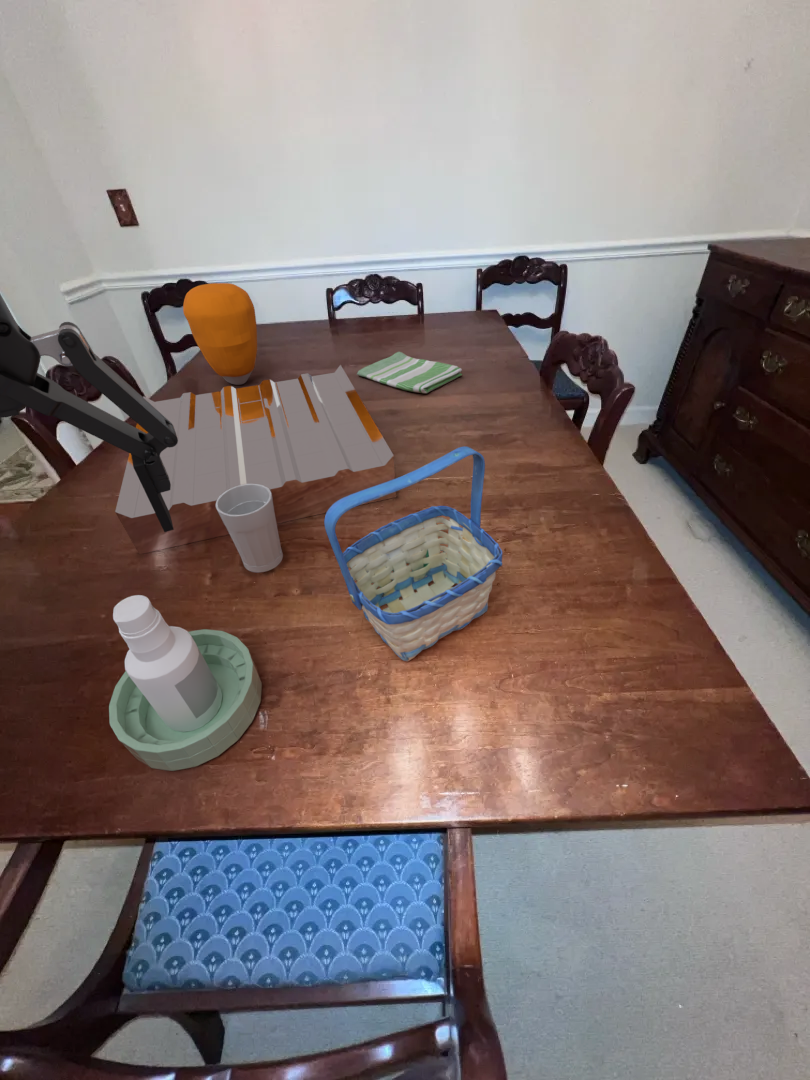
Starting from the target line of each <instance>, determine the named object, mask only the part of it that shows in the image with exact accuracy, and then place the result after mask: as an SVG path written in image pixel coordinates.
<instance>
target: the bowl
mask: <svg viewBox="0 0 810 1080" xmlns="http://www.w3.org/2000/svg"><path fill="white" fill-rule="evenodd" d="M188 632H189V634H190V635H191V636H192V638H193V640H194V641H195V643H196V645H197V647H198V649H199V651H200V652H201V654H202V656H203V658H204V660H205V661H206V663H207V665H208V667H209V669H210V671H211V672H212V674H213V676H214V678H215V680H216V681H217V683H218V685H219V687H220V689H221V692H222V701H221V706H220V708H219V710H218V712H217V714H216V715H215V716H214V717H213V718H212V719H211V720H210V721H209V722H208V723H207V724H205V725H204V726H202V727H200V728H198V729H196V730H193V731H187V732H180V731H174V730H172V729H171V728H169V727H167V725H166V724H165V723H164V721H163V720H162V719H161V717H160V716H159V715H158V713H157V712H156V711H155V709H154V708H153V707H152V706H151V704H150V703H149V702H148V700H147V699H146V698H145V696H144V695H143V694H142V692H141V691H140V690H139V688H138V687H137V686H136V685H135V683H134V682H133V681H132V679H131V678H130V677H129V675H128V673H127V672H126V670H125V671H124V673H123V674H122V675H121V677H120V678H119V680H118V682H117V683H116V684H115V686H114V689H113V692H112V694H111V698H110V701H109V704H108V716H109V726H110V728H111V729H112V731H113V733H114V734H115V737H116V738H117V740H118V741H119V742H120V743H121V744H122V745H123V746H124V747H125V748H126V749H127V751H128V752H129V753H130V754H131V755H132V756H133V757H134V758H135V759H136V760H138V761H139V762H140V763H142V764H144V765H146V766H147V767H149V768H151V769H155V770H163V771H170V772H175V771H181V770H185V769H190V768H195V767H198V766H201V765H202V764H205V763H207V762H209V761H211V760H213V759H216V758H218V757H219V756H221V754H223V753H224V752H225V751H227V750H228V749H229V748H230V747H231V746H232V745H234V744H235V743H236V742H238V741H239V740H240V738H241V737H242V736H243V734H244V733H245V732H246V731H247V730H248V728H249V726H250V725H251V724H252V723H253V721H254V719H255V717H256V714H257V711H258V709H259V707H260V704H261V701H262V688H263V684H262V680H261V677H260V674H259V671H258V668H257V666H256V663H255V661H254V659H253V657H252V654H251V652H250V650H249V648H248V647H247V645H245V643H243V641H241V640H240V638H239V637H237V636H235V635H233V634H231V633H228V632H226V631H224V630H217V629H209V628H208V629H207V628H202V629H196V630H190V631H188Z"/></svg>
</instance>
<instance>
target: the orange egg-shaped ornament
mask: <svg viewBox="0 0 810 1080" xmlns="http://www.w3.org/2000/svg"><path fill="white" fill-rule="evenodd" d="M182 311H183V316H184V317H185V319H186V321H187V323H188V326H189V330H190V332H191V334H192V337H193V339H194V341H195V344H196V345H197V347H198V349H199V351H200V352H201V353H202V356H203V358H204V359H205V361H206V363H207V364H208V365H209V366H210V368H211V369H212V370H213V371H214V372H215V373H216V374H217V375H218V377H219V376H220V377H221V378H222V379H223V380H225V381H226V382H227V383H229V384H231V385H234V386H241V385H244V384H246V383H247V381H248V380H249V378H250V377H251V374H252V373H253V371H254V370H255V367H256V360H257V354H258V328H257V317H256V310H255V306H254V303H253V301H252V299H251V296H250V295H249V293H248V292H247V291H246V290H245V289H243V288H242V287H240V286H238V285H236V284H234V283H229V282H221V283H220V282H212V283H205V284H199V285H197V286H195V287H192V288H191V289H189V291H188V292H187V293H186V294H185V296H184V299H183V305H182Z"/></svg>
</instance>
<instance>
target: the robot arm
mask: <svg viewBox="0 0 810 1080" xmlns="http://www.w3.org/2000/svg"><path fill="white" fill-rule="evenodd" d="M45 356H47V357H50V358H53V359H54V360H56V362H57V363H59V365H62V366H63V367H74V369H75V370H76V372H78V374H79V375H80V376H81V377H82V378H83V379H84V380H85V381H87V382H88V383H89V384H90V385H91V386H93V387H94V388H95V389H96V390H98V391H99V392H100V393H101V394H102V395H103V396H104V397H106V398H107V399H108V400H109V401H110V402H111V403H113V404H114V405H115V406H116V407H117V408H119V409H120V410H121V411H122V412H123V413H125V414H126V415H127V416H128V417H129V418H130V419H131V420H133V421H134V422H135V423H136V424H137V423H138V424H139V425H140V426H141V427H142V428H144V429H145V430H146V431H147V432H148V433H145V432H143V431H141V430H139V429H137V428H136V426H133V425H132V424H129V423H128V422H126V421H124V420H123V419H120V418H118V417H117V416H115V415H113V414H112V413H109V412H107V411H105V410H103V409H101V408H100V407H98V406H96V405H93V404H92V403H90V402H88V401H86V400H85V399H83V398H81V397H79V396H77V395H75V394H74V393H71V392H69V391H68V390H66V389H64V388H63V387H62V386H61V385H60V384H58V383H57V382H56V381H54V380H52V379H50V378H48V377H47V376H45V375H42V374H40V373H38V371H39V367H40V363H41V358H42V357H45ZM27 407H28V408H30V409H32V410H33V411H36V412H38V413H40V414H42V415H44V416H48V417H54V418H56V419H58V420H61V421H63V422H65V423H67V424H68V425H71V426H73V427H75V428H77V429H79V430H81V431H84V432H85V433H87V434H89V435H92V436H93V437H95V438H98V439H100V440H101V441H104V442H106V443H107V444H110V445H112V446H114V447H116V448H117V449H120V450H122V451H125V452H126V453H128V454H129V453H130V454H131V456H132V462H133V467H134V470H135V472H136V474H137V476H138V478H139V480H140V482H141V484H142V486H143V488H144V490H145V493H146V495H147V497H148V499H149V501H150V503H151V505H152V507H153V509H154V511H155V513H156V516H157V518H158V520H159V522H160V524H161V526H162V528H163V530H164V532H167V531H171V530H174V529H173V524H172V520H171V516H170V513H169V510H168V508H167V506H166V504H165V502H164V499H163V497H162V495H161V493H162V492H165V491H169V490H170V488H171V484H170V480H169V476H168V474H167V472H166V469H165V467H164V465H163V462H162V460H161V457H160V453H161V452H162V451H163V450H164V449H166V448H167V447H169V448H170V447H174V446H176V444H177V443H178V438H177V435H176V432H175V429H174V426H173V424H172V423H171V422H170V421H169V420H168V419H166V418H165V417H164V416H163V415H162V414H161V413H160V412H159V411H158V410H156V409H155V408H154V407H153V406H152V405H151V404H150V403H149V402H148V401H146V400H145V399H144V398H143V396H142V395H141V394H140V393H139V392H138V391H137V390H136V389H135V388H134V387H132V386H131V385H130V384H129V383H128V382H127V381H126V380H125V379H123V377H121V376H120V375H119V374H118V373H117V372H116V371H115V370H114V369H113V368H111V367H110V366H109V365H108V364H107V363H105V362H104V361H103V360H102V359H101V358H100V357H99V356H98V355H96V353H95V352H94V351H93V349H92V347H91V345H90V344H89V342H88V340H87V339H86V337H85V335H84V334H83V332H82V330H81V328H79V326H78V325H77V324H75V323H74V322H71V321H63V322H62V323H61V324H60V325H59V326H58V329H55V330H51V331H48V332H45V333H44V332H43V333H41V334H37V335H32V336H31V335H30V334H28V333H27V332H26V331H25V330H23V328H21V326H20V325H19V324H18V322H17V321H16V319H15V318H14V316H13V314H12V312H11V310H10V309H9V306H8V305H7V303H6V301H5V299H4V297H3V296H2V294H1V293H0V418H9V417H15V416H19V415H20V414H21V412H22V411H23V410H25V409H26V408H27Z"/></svg>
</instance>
